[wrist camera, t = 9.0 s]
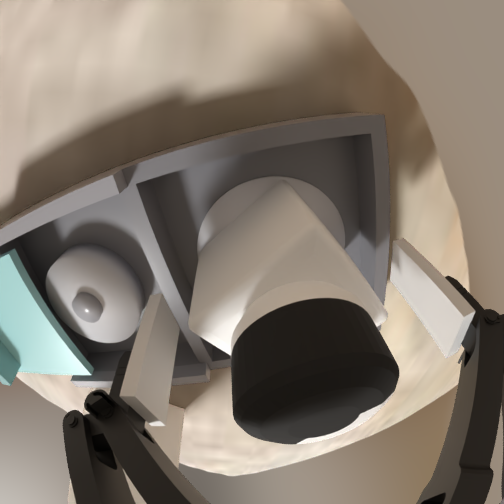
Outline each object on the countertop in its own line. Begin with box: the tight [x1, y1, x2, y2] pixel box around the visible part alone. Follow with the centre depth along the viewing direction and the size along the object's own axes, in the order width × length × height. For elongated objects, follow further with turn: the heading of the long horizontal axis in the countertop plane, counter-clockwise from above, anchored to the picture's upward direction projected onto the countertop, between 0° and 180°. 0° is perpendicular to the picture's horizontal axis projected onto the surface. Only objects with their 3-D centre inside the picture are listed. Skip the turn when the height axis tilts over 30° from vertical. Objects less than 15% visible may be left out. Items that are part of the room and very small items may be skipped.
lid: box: [0, 248, 94, 386], centre depth 15 cm, size 12×13×4 cm
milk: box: [68, 388, 185, 504], centre depth 18 cm, size 12×12×26 cm
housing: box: [0, 112, 390, 388], centre depth 17 cm, size 16×28×5 cm, turn 102°
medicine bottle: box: [188, 180, 399, 444], centre depth 13 cm, size 7×7×12 cm
